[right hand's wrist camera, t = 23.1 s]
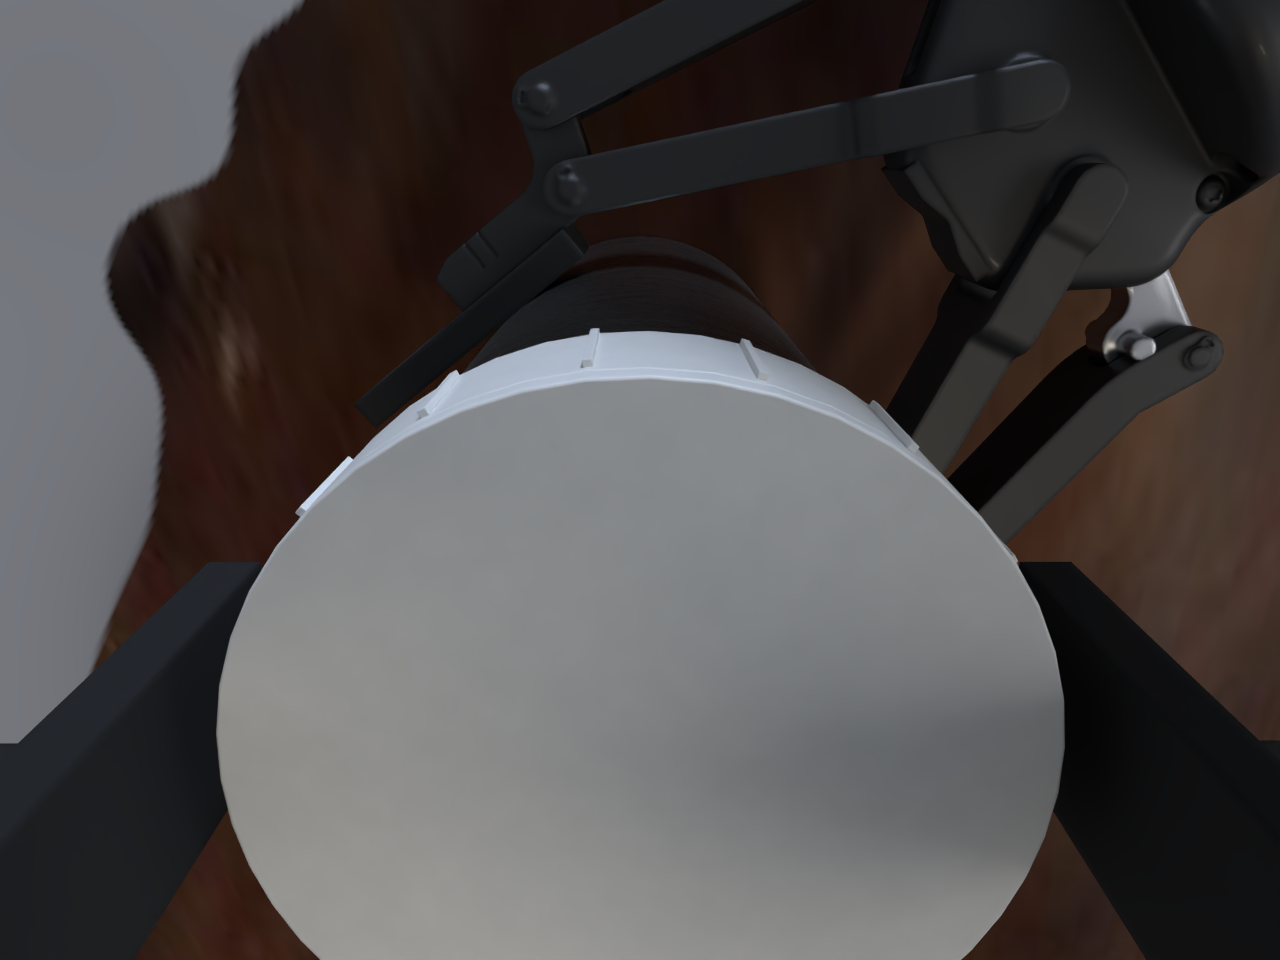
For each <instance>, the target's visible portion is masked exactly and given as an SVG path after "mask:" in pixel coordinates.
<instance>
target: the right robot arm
mask: <svg viewBox="0 0 1280 960" xmlns="http://www.w3.org/2000/svg"><path fill="white" fill-rule="evenodd" d="M1019 569H1020V571H1021V573H1022V575H1023V576H1024V578H1025V580H1026V582H1027V584H1028V586H1029V587H1030V589H1031V591H1032V593H1033V595H1034V597H1035V598H1036V600H1037V602H1038V604H1039V606H1040V609H1041V612H1042V615H1043V618H1044V621H1045V623H1046V626H1047V629H1048V632H1049V635H1050V637H1051V640H1052V643H1053V646H1054V649H1055V652H1056V657H1057V663H1058V669H1059V674H1060V680H1061V685H1062V691H1063V696H1064V730H1065V750H1064V757H1063V764H1062V771H1061V778H1060V785H1059V792H1058V796H1057V799H1056V802H1055V806H1054V809H1053V811H1054V813H1055V815H1056V816H1057V818H1058V819H1059V821H1060V823H1061V824H1062V826H1063V827H1064V829H1065V831H1066V832H1067V834H1068V835H1069V837H1070V839H1071V840H1072V842H1073V843H1074V845H1075V847H1076V848H1077V850H1078V851H1079V853H1080V855H1081V856H1082V858H1083V859H1084V861H1085V862H1086V864H1087V866H1088V867H1089V869H1090V870H1091V872H1092V874H1093V875H1094V877H1095V878H1096V880H1097V882H1098V883H1099V885H1100V886H1101V888H1102V890H1103V891H1104V893H1105V894H1106V896H1107V898H1108V899H1109V901H1110V902H1111V904H1112V906H1113V907H1114V909H1115V910H1116V912H1117V913H1118V915H1119V917H1120V918H1121V920H1122V921H1123V923H1124V925H1125V926H1126V928H1127V929H1128V931H1129V933H1130V934H1131V936H1132V937H1133V939H1134V941H1135V942H1136V944H1137V945H1138V947H1139V949H1140V950H1141V952H1142V953H1143V955H1144V957H1145V958H1146V960H1280V741H1259V740H1258V739H1257V738H1256V737H1255V736H1254V735H1253V734H1252V733H1251V732H1249V731H1248V730H1247V729H1246V728H1245V727H1244V726H1243V725H1242V724H1241V723H1240V722H1239V721H1238V720H1237V719H1236V718H1235V717H1234V716H1233V715H1232V714H1231V713H1229V712H1228V711H1227V710H1226V709H1225V708H1224V707H1223V706H1222V705H1221V704H1220V703H1219V702H1218V701H1217V700H1216V699H1215V698H1214V697H1213V696H1212V695H1211V694H1209V693H1208V692H1207V691H1206V690H1205V689H1204V688H1203V687H1202V686H1201V685H1200V684H1199V683H1198V682H1197V681H1196V680H1195V679H1194V678H1193V677H1192V676H1191V675H1189V674H1188V673H1187V672H1186V671H1185V670H1184V669H1183V668H1182V667H1181V666H1180V665H1179V664H1178V663H1177V662H1176V661H1175V660H1174V659H1173V658H1172V657H1171V656H1169V655H1168V654H1167V653H1166V652H1165V651H1164V650H1163V649H1162V648H1161V647H1160V646H1159V645H1158V644H1157V643H1156V642H1155V641H1154V640H1153V639H1152V638H1151V637H1149V636H1148V635H1147V634H1146V633H1145V632H1144V631H1143V630H1142V629H1141V628H1140V627H1139V626H1138V625H1137V624H1136V623H1135V622H1134V621H1133V620H1132V619H1131V618H1129V617H1128V616H1127V615H1126V614H1125V613H1124V612H1123V611H1122V610H1121V609H1120V608H1119V607H1118V606H1117V605H1116V604H1115V603H1114V602H1113V601H1112V600H1111V599H1109V598H1108V597H1107V596H1106V595H1105V594H1104V593H1103V592H1102V591H1101V590H1100V589H1099V588H1098V587H1097V586H1096V585H1095V584H1094V583H1093V582H1092V581H1091V580H1089V579H1088V578H1087V577H1086V576H1085V575H1084V574H1083V573H1082V572H1081V571H1080V570H1079V569H1078V568H1077V567H1076V566H1075V565H1074V564H1073V563H1072V562H1020V565H1019ZM260 572H261V565H260V562H208V563H207V564H206V565H205V566H204V567H203V568H202V569H201V570H200V571H199V572H198V573H197V574H196V575H195V576H194V577H193V578H192V579H191V580H189V581H188V582H187V583H186V584H185V585H184V586H183V587H182V588H181V589H180V590H179V591H178V592H177V593H176V594H175V595H174V596H173V597H172V598H171V599H169V600H168V601H167V602H166V603H165V604H164V605H163V606H162V607H161V608H160V609H159V610H158V611H157V612H156V613H155V614H154V615H153V616H152V617H151V618H149V619H148V620H147V621H146V622H145V623H144V624H143V625H142V626H141V627H140V628H139V629H138V630H137V631H136V632H135V633H134V634H133V635H132V636H131V637H129V638H128V639H127V640H126V641H125V642H124V643H123V644H122V645H121V646H120V647H119V648H118V649H117V650H116V651H115V652H114V653H113V654H112V655H111V656H109V657H108V658H107V659H106V660H105V661H104V662H103V663H102V664H101V665H100V666H99V667H98V668H97V669H96V670H95V671H94V672H93V673H92V674H91V675H89V676H88V677H87V678H86V679H85V680H84V681H83V682H82V683H81V684H80V685H79V686H78V687H77V688H76V689H75V690H74V691H73V692H72V693H71V694H69V695H68V696H67V697H66V698H65V699H64V700H63V701H62V702H61V703H60V704H59V705H58V706H57V707H56V708H55V709H54V710H53V711H52V712H51V713H49V714H48V715H47V716H46V717H45V718H44V719H43V720H42V721H41V722H40V723H39V724H38V725H37V726H36V727H35V728H34V729H33V730H32V731H31V732H30V733H28V734H27V735H26V736H25V737H24V738H23V739H22V740H21V741H20V742H19V743H18V744H0V960H134V958H135V957H136V955H137V953H138V952H139V950H140V949H141V947H142V945H143V944H144V942H145V941H146V939H147V937H148V936H149V934H150V933H151V931H152V929H153V928H154V926H155V925H156V923H157V921H158V920H159V918H160V917H161V915H162V913H163V912H164V910H165V909H166V907H167V906H168V904H169V902H170V901H171V899H172V898H173V896H174V894H175V893H176V891H177V890H178V888H179V886H180V885H181V883H182V882H183V880H184V878H185V877H186V875H187V874H188V872H189V870H190V869H191V867H192V866H193V864H194V862H195V861H196V859H197V858H198V856H199V855H200V853H201V851H202V850H203V848H204V847H205V845H206V843H207V842H208V840H209V839H210V837H211V835H212V834H213V832H214V831H215V829H216V827H217V826H218V824H219V823H220V821H221V819H222V818H223V816H224V815H225V813H226V811H227V810H228V807H227V803H226V799H225V795H224V791H223V788H222V784H221V780H220V769H219V759H218V748H217V737H216V727H217V712H218V697H219V684H220V679H221V675H222V671H223V666H224V662H225V658H226V653H227V649H228V645H229V640H230V637H231V634H232V632H233V629H234V627H235V624H236V622H237V619H238V617H239V615H240V612H241V610H242V607H243V605H244V602H245V600H246V597H247V595H248V593H249V590H250V589H251V587H252V585H253V584H254V582H255V580H256V579H257V577H258V576H259V574H260Z"/></svg>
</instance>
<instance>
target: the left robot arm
mask: <svg viewBox="0 0 1280 960" xmlns="http://www.w3.org/2000/svg"><path fill="white" fill-rule="evenodd" d="M814 1H816V0H664V1H662V2H660V3H658V4H656V5H654V6H653V7H651V8H649V9H647V10H645V11H643V12H641V13H639V14H637V15H635V16H633V17H631V18H629V19H627V20H626V21H624V22H622V23H620V24H618V25H616V26H614V27H612V28H610V29H608V30H606V31H604V32H602V33H601V34H599V35H597V36H595V37H593V38H591V39H589V40H587V41H585V42H583V43H581V44H579V45H577V46H575V47H574V48H572V49H570V50H568V51H566V52H564V53H562V54H560V55H558V56H556V57H554V58H552V59H550V60H549V61H547V62H545V63H543V64H541V65H539V66H537V67H535V68H533V69H531V70H529V71H527V72H526V73H525V74H523V75H522V76H521V77H520V78H519V79H518V80H517V82H516V84H515V86H514V88H513V92H512V104H513V108H514V112H515V114H516V115H517V116H518V118H519V119H520V122H521V125H522V128H523V130H524V133H525V136H526V139H527V142H528V145H529V148H530V150H531V153H532V158H533V175H532V179H531V182H530V183H529V185H528V187H527V189H526V190H525V191H524V192H523V193H522V194H521V195H520V196H519V197H518V198H517V199H515V200H514V201H513V202H512V203H511V204H510V205H508V206H507V207H506V208H505V209H504V210H503V211H501V212H500V213H499V214H498V215H497V216H496V217H494V218H493V219H492V220H491V221H490V222H489V223H488V224H486V225H485V226H484V227H483V228H482V229H481V230H479V231H478V232H477V233H476V234H475V235H474V236H472V237H471V238H470V239H469V240H468V241H467V242H466V243H464V244H463V245H462V246H461V247H460V248H459V249H457V250H456V251H455V252H454V253H453V254H452V255H450V256H449V257H448V258H447V259H446V260H445V262H444V264H443V266H442V268H441V271H440V273H439V275H438V277H437V279H436V280H437V282H438V283H439V284H440V285H441V286H442V287H443V289H444V290H445V291H446V292H447V293H448V294H449V296H450V297H451V298H452V299H453V300H454V301H455V303H456V304H457V305H458V306H459V307H460V308H461V310H462V311H463V312H462V313H461V314H459V315H458V316H457V317H456V318H455V319H453V320H452V321H451V322H450V323H449V324H448V325H446V326H445V327H444V328H443V329H442V330H440V331H439V332H438V333H437V334H436V335H434V336H433V337H432V338H431V339H430V340H429V341H427V342H426V343H425V344H424V345H423V346H421V347H420V348H419V349H418V350H417V351H415V352H414V353H413V354H412V355H411V356H409V357H408V358H407V359H406V360H405V361H404V362H402V363H401V364H400V365H399V366H398V367H396V368H395V369H394V370H393V371H392V372H390V373H389V374H388V375H387V376H386V377H384V378H383V379H382V380H381V381H380V382H379V383H378V384H377V385H375V386H374V387H373V388H372V389H371V390H370V391H369V392H367V393H366V394H365V395H364V396H363V397H362V398H361V399H359V400H358V401H357V402H356V403H355V404H354V405H355V406H356V408H357V409H358V410H359V411H360V412H361V413H362V414H363V415H364V416H365V417H366V418H367V419H368V420H369V422H370V423H371V424H372V425H373V426H374V427H375V428H377V427H378V426H379V425H380V424H381V423H383V422H384V421H385V420H386V419H388V418H389V417H390V416H391V415H392V414H394V413H395V412H396V411H397V410H398V409H400V408H401V407H402V406H403V405H404V404H406V403H407V402H408V401H409V400H411V399H412V398H413V397H414V396H415V395H417V394H418V393H419V392H420V391H421V390H423V389H424V388H425V387H426V386H428V385H429V384H430V383H431V382H432V381H434V380H435V379H436V378H437V377H438V376H440V375H441V374H442V373H443V372H444V371H446V370H447V369H448V368H449V367H451V366H452V365H453V364H454V363H455V362H457V361H458V360H459V359H460V358H461V357H463V356H464V355H465V354H466V353H467V352H469V351H470V350H471V349H472V348H474V347H475V346H476V345H477V344H478V343H480V342H481V341H482V340H483V339H484V338H486V337H487V336H488V335H489V334H490V333H492V332H493V331H494V330H495V329H497V328H498V327H499V326H500V325H501V324H503V323H504V322H505V321H506V320H507V319H509V318H510V317H511V316H512V315H513V314H515V313H516V312H517V311H518V310H520V309H521V308H522V307H523V306H524V305H526V304H527V303H528V302H529V301H530V300H532V299H533V298H534V297H535V296H536V295H538V294H539V293H540V292H541V291H543V290H544V289H545V288H546V287H547V286H549V285H550V284H551V283H552V282H553V281H555V280H556V279H557V278H558V277H560V276H561V275H562V274H563V273H564V272H566V271H567V270H568V269H569V268H570V267H572V266H573V265H574V264H575V263H576V262H578V261H579V260H580V259H581V258H583V257H584V255H585V253H586V252H587V250H588V248H589V246H590V244H589V243H588V241H587V240H586V239H585V238H584V236H583V235H582V234H581V232H580V231H579V230H578V229H577V227H576V226H575V225H574V224H573V222H574V221H576V220H577V219H578V218H579V217H580V216H582V215H586V214H591V213H596V212H601V211H606V210H611V209H616V208H620V207H625V206H630V205H635V204H640V203H645V202H649V201H654V200H659V199H664V198H669V197H674V196H679V195H683V194H688V193H693V192H698V191H703V190H708V189H712V188H717V187H722V186H727V185H732V184H737V183H742V182H746V181H751V180H756V179H761V178H766V177H771V176H775V175H780V174H785V173H790V172H795V171H800V170H805V169H809V168H814V167H819V166H824V165H829V164H834V163H838V162H843V161H848V160H854V159H861V158H867V157H873V156H878V155H883V154H884V158H885V162H886V166H885V167H883V168H882V169H881V170H882V171H883V173H884V174H885V176H886V177H887V179H888V180H889V182H890V183H891V185H892V186H893V188H894V189H895V191H896V192H897V194H898V195H899V196H900V197H901V198H903V199H904V200H905V201H906V202H907V203H909V204H910V205H911V206H912V207H913V208H914V209H916V210H917V211H918V212H919V213H920V214H921V215H922V216H923V218H924V221H925V224H926V228H927V231H928V234H929V237H930V241H931V244H932V247H933V248H934V250H935V251H936V253H937V254H938V256H939V257H940V259H941V260H942V262H943V263H944V265H945V267H946V268H947V270H948V271H950V272H953V273H955V276H954V277H953V279H952V281H951V283H950V285H949V286H948V288H947V290H946V292H945V293H944V295H943V297H942V299H941V301H940V304H939V307H938V315H937V320H936V323H935V325H934V327H933V328H932V330H931V332H930V334H929V335H928V337H927V339H926V341H925V343H924V344H923V346H922V348H921V350H920V351H919V353H918V355H917V357H916V358H915V360H914V362H913V364H912V365H911V367H910V369H909V371H908V372H907V374H906V376H905V378H904V379H903V381H902V383H901V385H900V387H899V388H898V390H897V392H896V394H895V395H894V397H893V399H892V401H891V402H890V404H889V406H888V408H887V409H886V412H887V413H888V414H889V415H890V416H891V418H892V419H893V420H894V421H895V422H896V423H897V424H898V425H899V426H900V427H901V428H902V429H903V430H904V431H905V432H906V433H907V434H908V435H909V436H910V438H911V439H912V440H913V441H914V442H915V443H916V444H917V445H918V446H919V451H920V452H921V453H922V454H923V455H924V456H925V457H926V458H927V459H928V460H929V461H930V462H931V463H932V464H933V465H934V467H935V468H936V469H937V470H938V471H939V472H940V473H941V474H942V475H943V474H944V472H945V470H946V469H947V467H948V466H949V464H950V462H951V461H952V459H953V457H954V456H955V454H956V452H957V451H958V449H959V447H960V446H961V444H962V442H963V441H964V439H965V437H966V436H967V434H968V433H969V431H970V429H971V428H972V426H973V424H974V423H975V421H976V419H977V418H978V416H979V414H980V413H981V411H982V409H983V408H984V406H985V405H986V403H987V401H988V400H989V398H990V396H991V395H992V393H993V391H994V390H995V388H996V386H997V385H998V383H999V381H1000V380H1001V378H1002V376H1003V375H1004V373H1005V372H1006V370H1007V368H1008V367H1009V365H1010V364H1011V362H1012V361H1013V360H1014V359H1015V358H1016V357H1018V356H1020V355H1022V354H1024V353H1025V352H1026V351H1028V350H1029V349H1030V348H1031V346H1032V345H1033V344H1034V342H1035V341H1036V339H1037V338H1038V336H1039V334H1040V333H1041V331H1042V330H1043V328H1044V326H1045V325H1046V323H1047V321H1048V320H1049V318H1050V316H1051V315H1052V313H1053V312H1054V310H1055V308H1056V307H1057V305H1058V303H1059V302H1060V300H1061V298H1062V297H1063V295H1064V294H1065V292H1066V290H1084V289H1108V288H1111V300H1110V303H1109V306H1108V307H1107V309H1106V310H1105V312H1104V313H1103V314H1102V315H1101V316H1100V317H1098V318H1097V319H1096V320H1094V321H1092V322H1090V323H1089V325H1088V326H1087V327H1086V331H1085V335H1086V345H1084V346H1083V347H1081V348H1080V349H1078V350H1076V351H1075V352H1074V353H1072V354H1071V355H1070V356H1069V357H1067V358H1066V359H1065V360H1063V361H1062V362H1061V363H1060V364H1059V365H1058V366H1057V367H1055V368H1054V369H1053V370H1052V371H1051V372H1050V373H1049V374H1048V375H1047V376H1046V377H1045V378H1044V379H1043V380H1042V381H1041V382H1040V383H1039V384H1038V385H1037V386H1036V387H1035V388H1034V389H1033V391H1032V392H1031V393H1030V394H1029V395H1028V396H1027V397H1026V398H1025V399H1024V400H1023V401H1022V402H1021V403H1020V404H1019V405H1018V406H1017V407H1016V408H1015V409H1014V410H1013V411H1012V412H1011V413H1010V414H1009V415H1008V416H1007V418H1006V419H1005V420H1004V421H1003V422H1002V423H1001V424H1000V425H999V426H998V427H997V428H996V429H995V430H994V431H993V432H992V433H991V434H990V435H989V436H988V437H987V438H986V439H985V440H984V441H983V442H982V444H981V445H980V446H979V447H978V448H977V449H976V450H975V451H974V452H973V453H972V454H971V455H970V456H969V457H968V458H967V459H966V460H965V461H964V462H963V463H962V464H961V465H960V466H959V467H958V468H957V469H956V471H955V472H954V473H953V474H952V475H951V476H950V477H949V478H948V479H947V480H948V481H949V483H950V484H951V485H952V486H953V487H954V488H955V489H956V490H957V491H958V492H959V493H960V494H961V495H962V496H963V497H964V499H965V500H966V501H967V502H968V503H969V504H970V505H971V506H972V507H973V508H974V509H975V510H976V511H977V512H978V513H979V515H980V516H981V517H982V518H983V519H984V521H985V522H986V523H987V525H988V526H989V527H990V528H991V530H992V531H993V532H994V533H995V534H996V536H997V537H998V538H999V539H1000V540H1001V541H1002V542H1003V543H1004V544H1005V545H1006V544H1007V543H1008V542H1009V541H1010V540H1011V539H1012V538H1013V537H1014V536H1015V535H1016V534H1017V533H1018V532H1019V531H1020V530H1021V529H1022V528H1023V527H1024V526H1025V525H1026V524H1027V523H1028V522H1029V521H1030V520H1031V519H1032V518H1033V517H1034V516H1035V515H1036V514H1037V513H1038V512H1039V511H1040V510H1041V509H1042V508H1044V507H1045V506H1046V505H1047V504H1048V503H1049V502H1050V501H1051V500H1052V499H1053V498H1054V497H1055V496H1056V495H1057V494H1058V493H1059V492H1060V491H1061V490H1062V489H1063V488H1064V487H1065V486H1066V485H1067V484H1068V483H1069V482H1070V481H1071V480H1072V479H1073V478H1074V477H1075V476H1076V475H1077V474H1078V473H1079V472H1080V471H1081V470H1082V469H1083V468H1084V467H1085V466H1086V465H1087V464H1088V463H1089V462H1090V461H1091V460H1092V459H1093V458H1094V457H1095V456H1096V455H1097V454H1098V453H1099V452H1100V451H1101V450H1102V449H1103V448H1104V447H1105V446H1106V445H1107V444H1108V443H1109V442H1110V441H1111V440H1112V439H1113V438H1115V437H1116V436H1117V435H1118V434H1119V433H1120V432H1121V431H1122V430H1123V429H1124V428H1125V427H1126V426H1127V425H1128V424H1129V423H1130V422H1131V421H1132V420H1133V419H1134V418H1135V417H1136V416H1137V415H1138V414H1139V413H1140V412H1142V411H1144V410H1146V409H1148V408H1150V407H1151V406H1153V405H1155V404H1157V403H1159V402H1161V401H1163V400H1165V399H1166V398H1168V397H1170V396H1172V395H1174V394H1176V393H1178V392H1179V391H1181V390H1183V389H1185V388H1187V387H1189V386H1191V385H1193V384H1194V383H1196V382H1198V381H1200V380H1202V379H1204V378H1206V377H1207V376H1208V375H1210V374H1211V373H1212V372H1214V371H1215V370H1216V368H1217V367H1218V365H1219V364H1220V362H1221V360H1222V356H1223V345H1222V342H1221V340H1220V339H1219V338H1218V336H1217V335H1215V334H1213V333H1211V332H1209V331H1206V330H1203V329H1200V328H1197V327H1194V326H1192V325H1191V323H1190V321H1189V318H1188V316H1187V314H1186V311H1185V309H1184V306H1183V304H1182V301H1181V299H1180V296H1179V294H1178V292H1177V289H1176V287H1175V284H1174V282H1173V279H1172V277H1171V274H1170V272H1169V270H1168V269H1169V268H1170V267H1171V266H1172V265H1173V264H1174V262H1175V261H1176V260H1177V258H1178V257H1179V255H1180V254H1181V252H1182V250H1183V248H1184V247H1185V245H1186V243H1187V242H1188V240H1189V239H1190V237H1191V236H1192V235H1193V233H1194V232H1195V231H1196V230H1197V229H1198V227H1199V226H1200V225H1201V224H1202V223H1203V222H1204V221H1205V220H1206V219H1207V218H1209V217H1210V216H1211V215H1213V214H1214V213H1215V212H1217V211H1219V210H1220V209H1222V208H1224V207H1225V206H1227V205H1229V204H1231V203H1232V202H1234V201H1236V200H1238V199H1239V198H1241V197H1243V196H1244V195H1246V194H1248V193H1249V192H1251V191H1253V190H1254V189H1256V188H1258V187H1259V186H1261V185H1262V184H1264V183H1265V182H1267V181H1268V180H1269V179H1271V178H1272V177H1274V176H1275V175H1276V174H1278V173H1279V172H1280V0H929V3H928V5H927V8H926V11H925V14H924V17H923V20H922V23H921V25H920V28H919V31H918V34H917V37H916V40H915V43H914V45H913V48H912V51H911V54H910V57H909V60H908V63H907V65H906V68H905V71H904V74H903V77H902V80H901V83H900V85H899V88H898V90H896V91H891V92H886V93H881V94H877V95H872V96H867V97H863V98H858V99H854V100H849V101H844V102H840V103H835V104H830V105H825V106H821V107H816V108H811V109H807V110H802V111H797V112H792V113H788V114H783V115H778V116H773V117H769V118H764V119H759V120H754V121H750V122H745V123H740V124H735V125H731V126H726V127H721V128H716V129H712V130H707V131H702V132H697V133H693V134H688V135H683V136H678V137H674V138H669V139H664V140H660V141H655V142H650V143H645V144H641V145H636V146H631V147H626V148H622V149H617V150H612V151H607V152H603V153H598V154H593V155H592V154H591V151H590V148H589V145H588V141H587V138H586V135H585V132H584V129H583V126H582V123H581V120H582V119H584V118H586V117H588V116H590V115H592V114H594V113H596V112H598V111H600V110H602V109H604V108H606V107H608V106H610V105H612V104H614V103H616V102H618V101H620V100H622V99H623V98H625V97H627V96H629V95H631V94H633V93H635V92H637V91H639V90H641V89H643V88H645V87H647V86H649V85H651V84H653V83H655V82H657V81H659V80H661V79H663V78H665V77H667V76H669V75H671V74H673V73H675V72H677V71H679V70H681V69H683V68H685V67H687V66H689V65H691V64H693V63H695V62H697V61H699V60H701V59H703V58H705V57H707V56H709V55H711V54H713V53H714V52H716V51H718V50H720V49H722V48H724V47H726V46H728V45H730V44H732V43H734V42H736V41H738V40H740V39H742V38H744V37H746V36H748V35H750V34H752V33H754V32H756V31H758V30H760V29H762V28H764V27H766V26H768V25H770V24H772V23H774V22H776V21H778V20H780V19H782V18H784V17H786V16H788V15H790V14H792V13H794V12H796V11H798V10H800V9H802V8H804V7H806V6H807V5H809V4H811V3H813V2H814Z"/></svg>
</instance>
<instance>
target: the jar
mask: <svg viewBox="0 0 1280 960" xmlns="http://www.w3.org/2000/svg"><path fill="white" fill-rule="evenodd" d="M594 328H599V331H600V333H615V332H636V331H655V332H667V333H679V334H690V335H701V336H706V337H711V338H715V339H720V340H724V341H729V342H733V343H738V344H740V342H741V339H746V340H749V341H750V342H751V344H752V346H753V347H754V348H757V349H760V350H763V351H765V352H768V353H771V354H774V355H776V356H779V357H782V358H785V359H787V360H790V361H793V362H796V363H798V364H801V365H803V366H805V367H806V368H808V369H810V370H812V371H814V372H816V373H817V371H816V370H815V369H814V368H813V366H812V365H811V364H810V363H809V361H808V360H807V359H806V358H805V356H804V355H803V354H802V353H801V352H800V350H799V349H798V348H797V347H796V345H795V344H794V343H793V342H792V340H791V339H790V338H789V337H788V335H787V334H786V333H785V332H784V330H783V329H782V328H781V327H780V325H779V324H778V323H777V322H776V320H775V319H774V318H773V317H772V316H771V314H770V313H769V312H768V311H767V309H766V308H765V307H764V306H763V304H762V303H761V302H760V301H759V299H758V298H757V297H756V296H755V294H754V293H753V292H752V291H751V289H750V288H749V287H748V286H747V285H746V283H745V282H744V281H743V280H742V279H741V278H740V277H739V276H738V275H737V274H736V273H735V272H734V271H733V270H732V269H730V268H729V267H728V266H726V265H725V264H724V263H722V262H721V261H719V260H718V259H717V258H715V257H713V256H711V255H710V254H708V253H706V252H704V251H702V250H700V249H698V248H696V247H693V246H690V245H688V244H685V243H683V242H679V241H674V240H670V239H666V238H659V237H649V236H633V237H621V238H616V239H610V240H605V241H602V242H599V243H596V244H593V245H590V246H589V248H588V250H587V252H586V253H585V255H584V257H583V258H581V259H580V260H579V261H578V262H576V263H575V264H574V265H573V266H572V267H570V268H569V269H568V270H567V271H566V272H564V273H563V274H562V275H561V276H560V277H558V278H557V279H556V280H555V281H553V282H552V283H551V284H550V285H549V286H547V287H546V288H545V289H544V290H543V291H541V292H540V293H539V294H538V295H536V296H535V297H534V298H533V299H532V300H530V301H529V302H528V303H527V304H526V305H524V306H523V307H522V308H521V309H520V310H518V311H517V312H516V313H515V314H513V315H512V316H511V317H510V318H509V319H507V320H506V321H505V322H504V323H503V324H502V325H501V326H500V327H499V329H498V330H497V331H496V332H495V334H494V335H493V336H492V337H491V339H490V340H489V341H488V342H487V344H486V345H485V346H484V347H483V349H482V350H481V351H480V352H479V353H478V355H477V356H476V357H475V358H474V360H473V361H472V362H471V363H470V365H469V366H468V367H467V368H466V370H465V371H464V372H463V373H465V372H467V371H470V370H472V369H474V368H476V367H478V366H480V365H482V364H484V363H486V362H489V361H491V360H493V359H495V358H498V357H501V356H504V355H507V354H510V353H513V352H516V351H520V350H523V349H526V348H529V347H532V346H535V345H538V344H542V343H545V342H550V341H556V340H562V339H567V338H573V337H578V336H584V335H589V333H590V330H591V329H594ZM463 373H462V374H463Z"/></svg>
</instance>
